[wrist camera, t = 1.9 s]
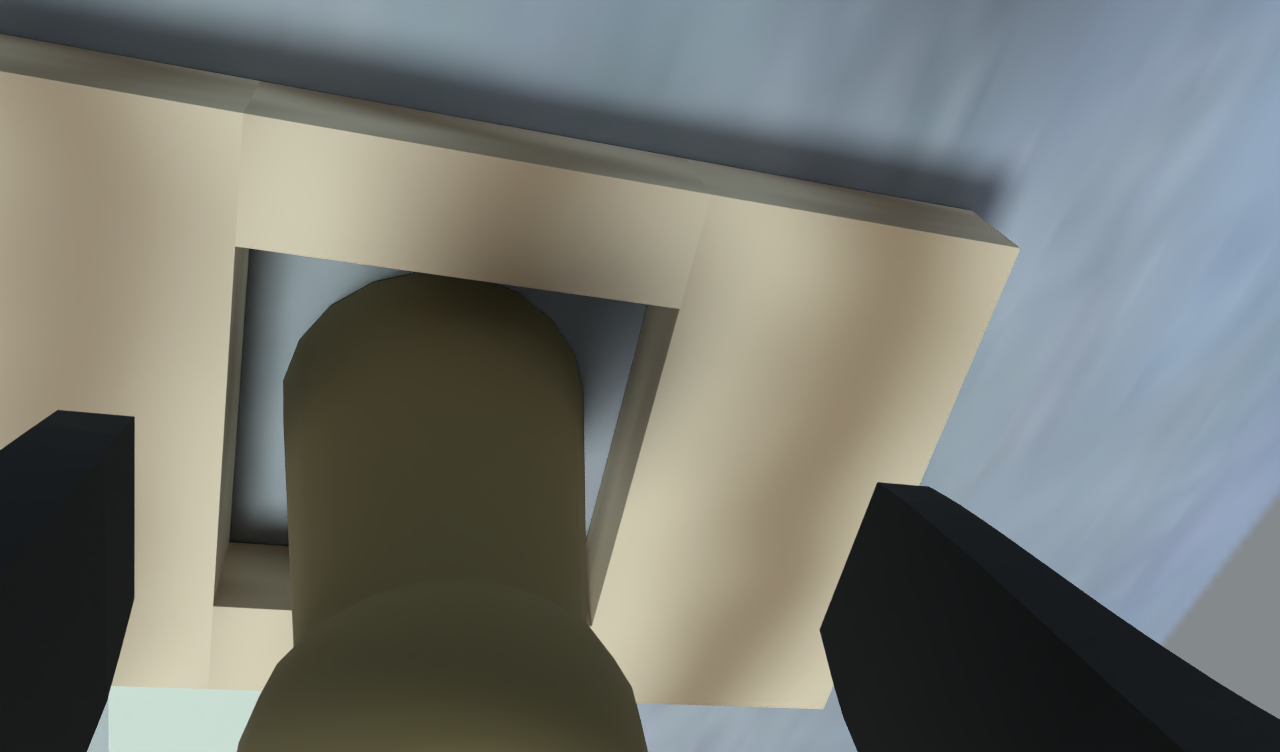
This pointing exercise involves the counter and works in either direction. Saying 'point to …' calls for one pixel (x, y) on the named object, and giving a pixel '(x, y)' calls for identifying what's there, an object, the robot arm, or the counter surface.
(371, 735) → the cork
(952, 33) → the counter surface
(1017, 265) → the counter surface
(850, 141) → the counter surface
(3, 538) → the robot arm
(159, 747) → the rubber mat
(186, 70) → the socket board
